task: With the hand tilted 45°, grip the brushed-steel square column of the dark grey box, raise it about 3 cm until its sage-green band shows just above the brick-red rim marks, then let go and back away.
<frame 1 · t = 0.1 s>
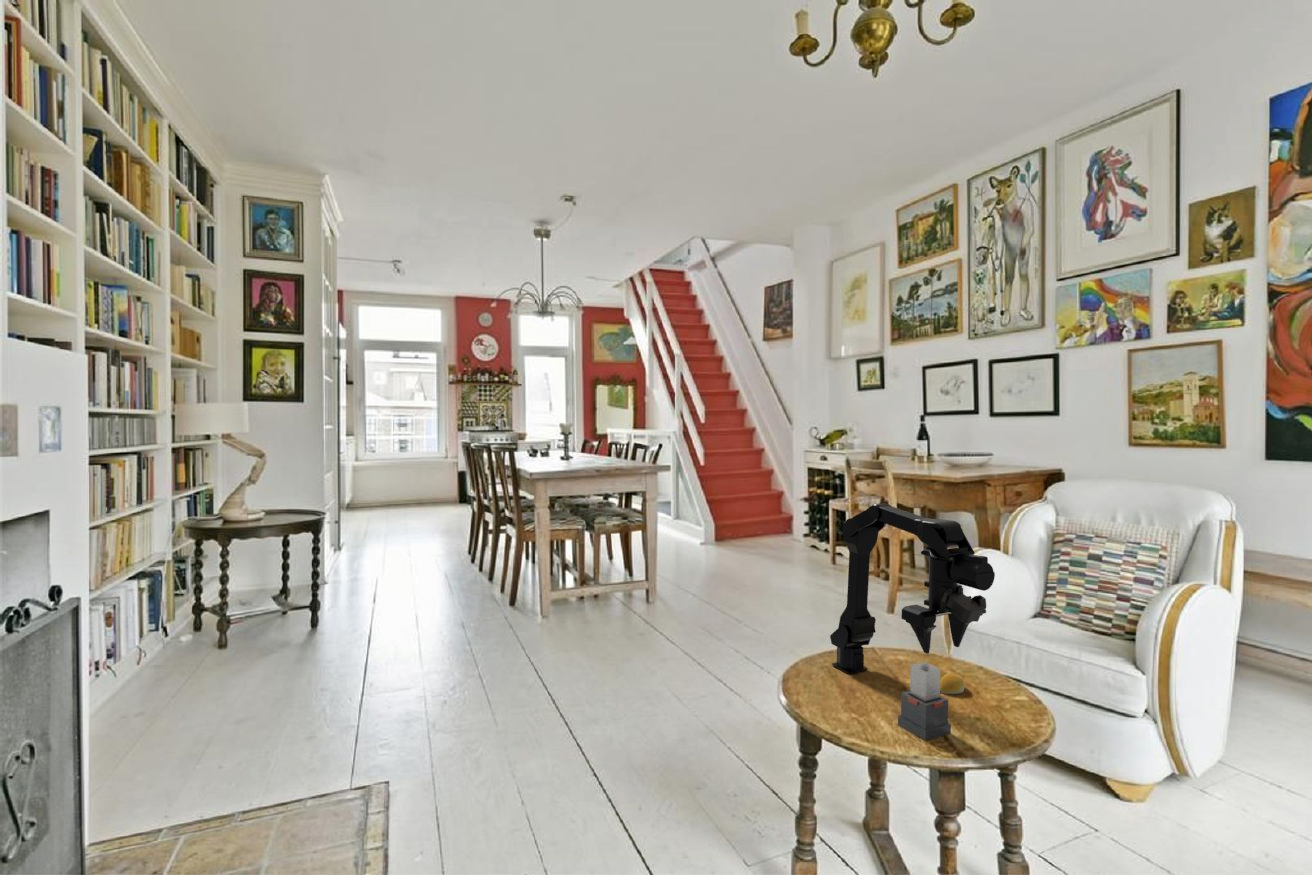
hand: (941, 649, 138), 15 cm above the table, tool pointing down, fingers open, 9 cm apart
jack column: (924, 692, 132), point 8 cm above the table, slide at 0.0 cm
dark grey box: (923, 729, 133), on the table
bread roll: (943, 688, 153), on the table
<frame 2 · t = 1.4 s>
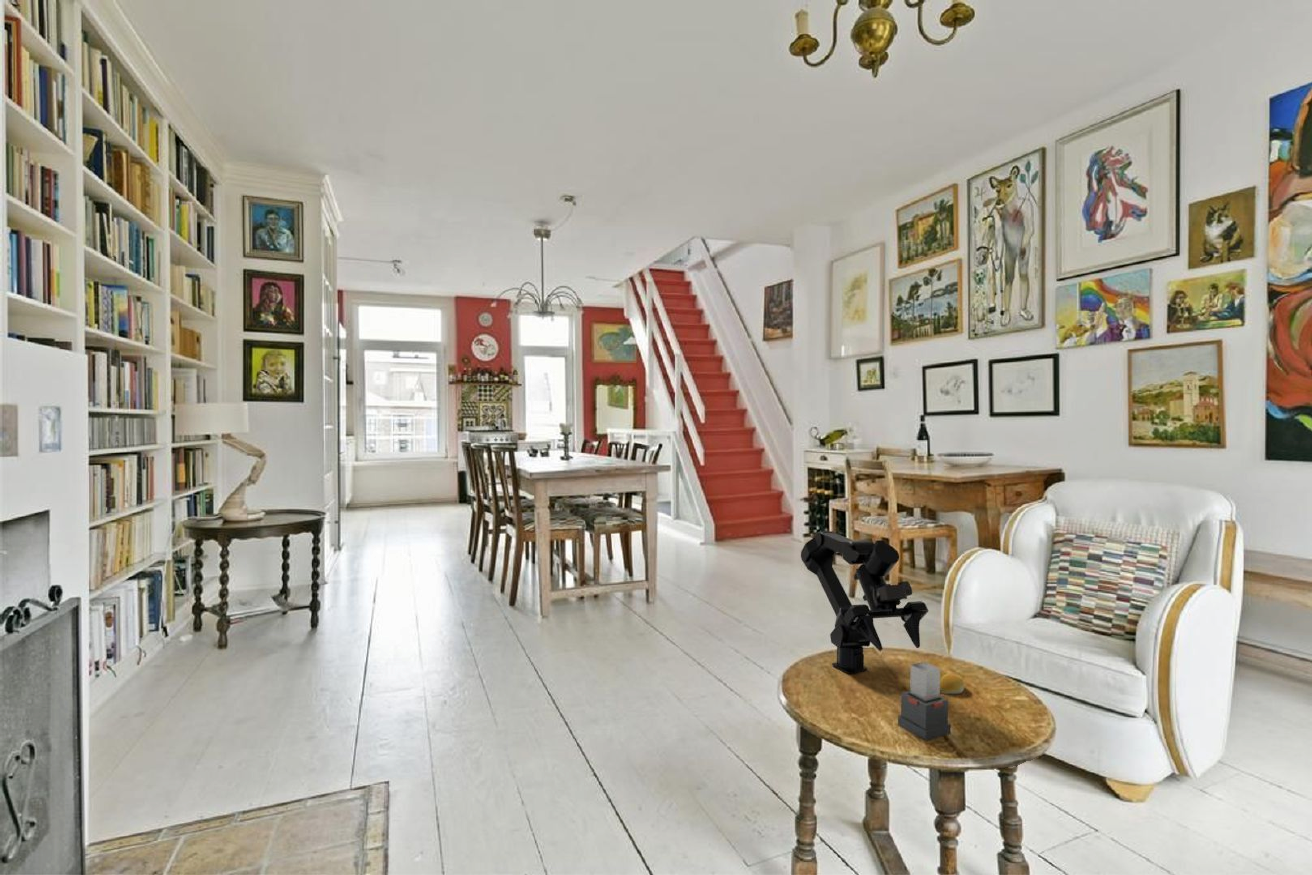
hand: (899, 648, 141), 14 cm above the table, tool tilted 45°, fingers open, 9 cm apart
nothing on the table moved.
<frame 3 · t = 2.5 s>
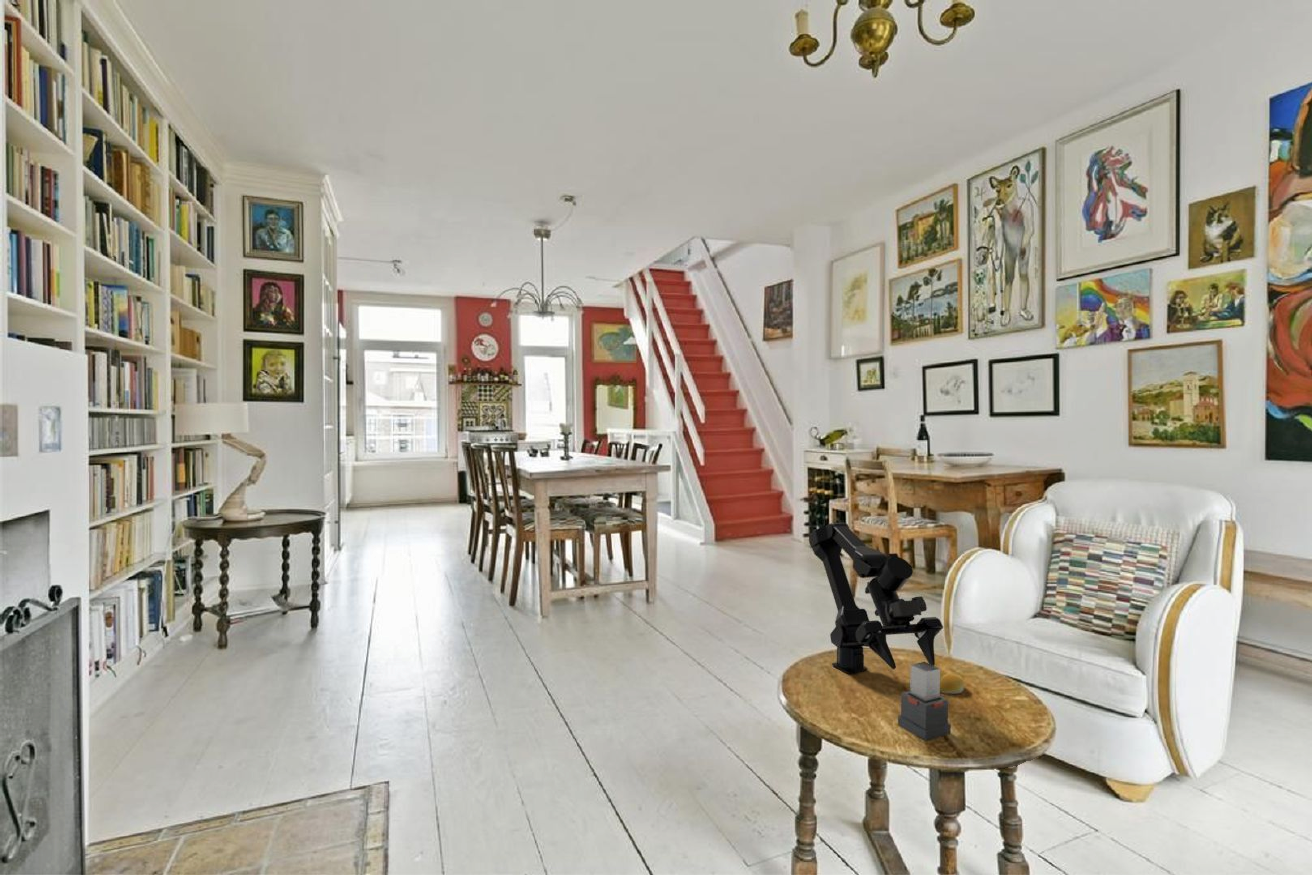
hand: (913, 667, 136), 12 cm above the table, tool tilted 45°, fingers open, 9 cm apart
nothing on the table moved.
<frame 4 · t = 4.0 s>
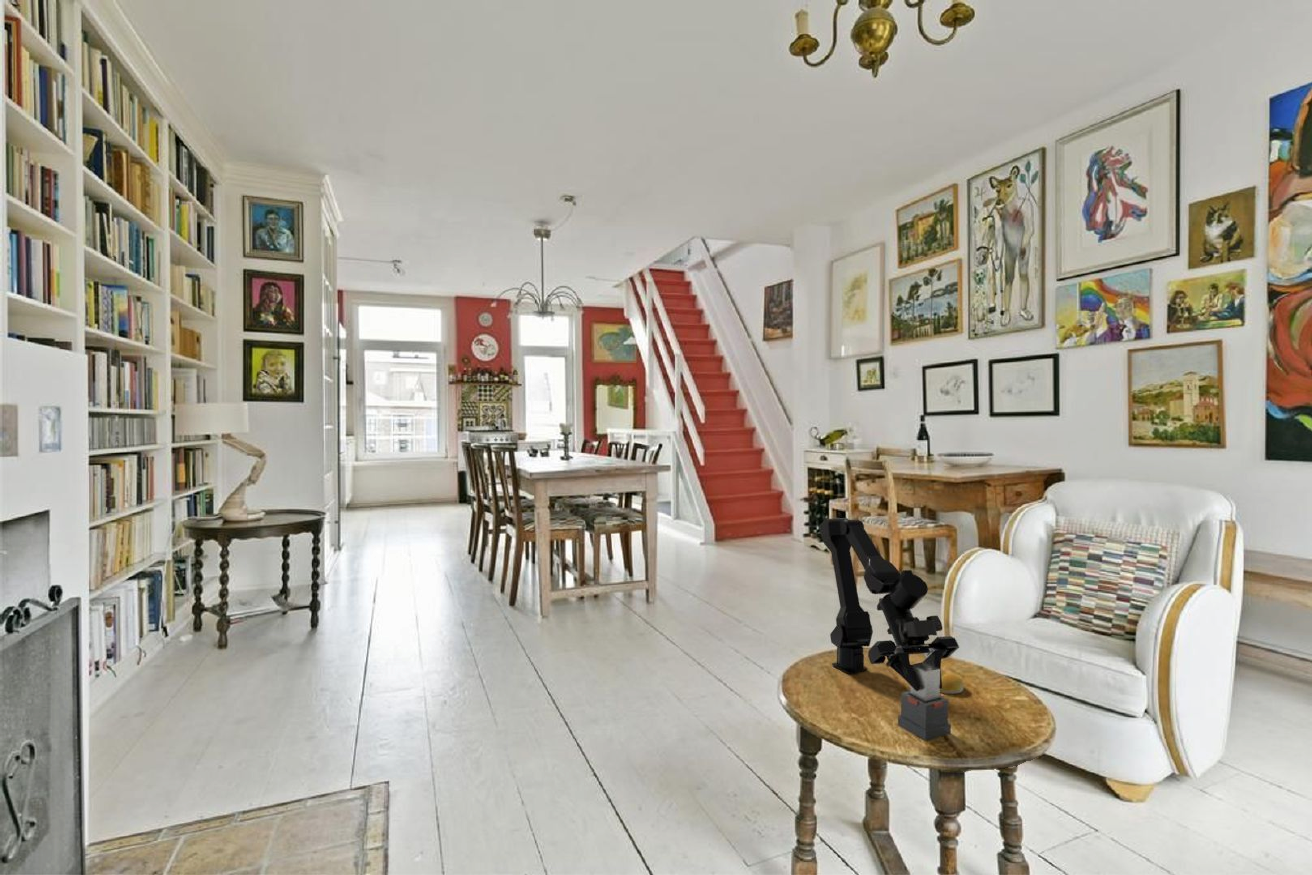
hand: (929, 689, 131), 9 cm above the table, tool tilted 45°, fingers closed on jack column, 5 cm apart
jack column: (924, 692, 132), point 8 cm above the table, slide at 0.0 cm, touching gripper
everything else where it was.
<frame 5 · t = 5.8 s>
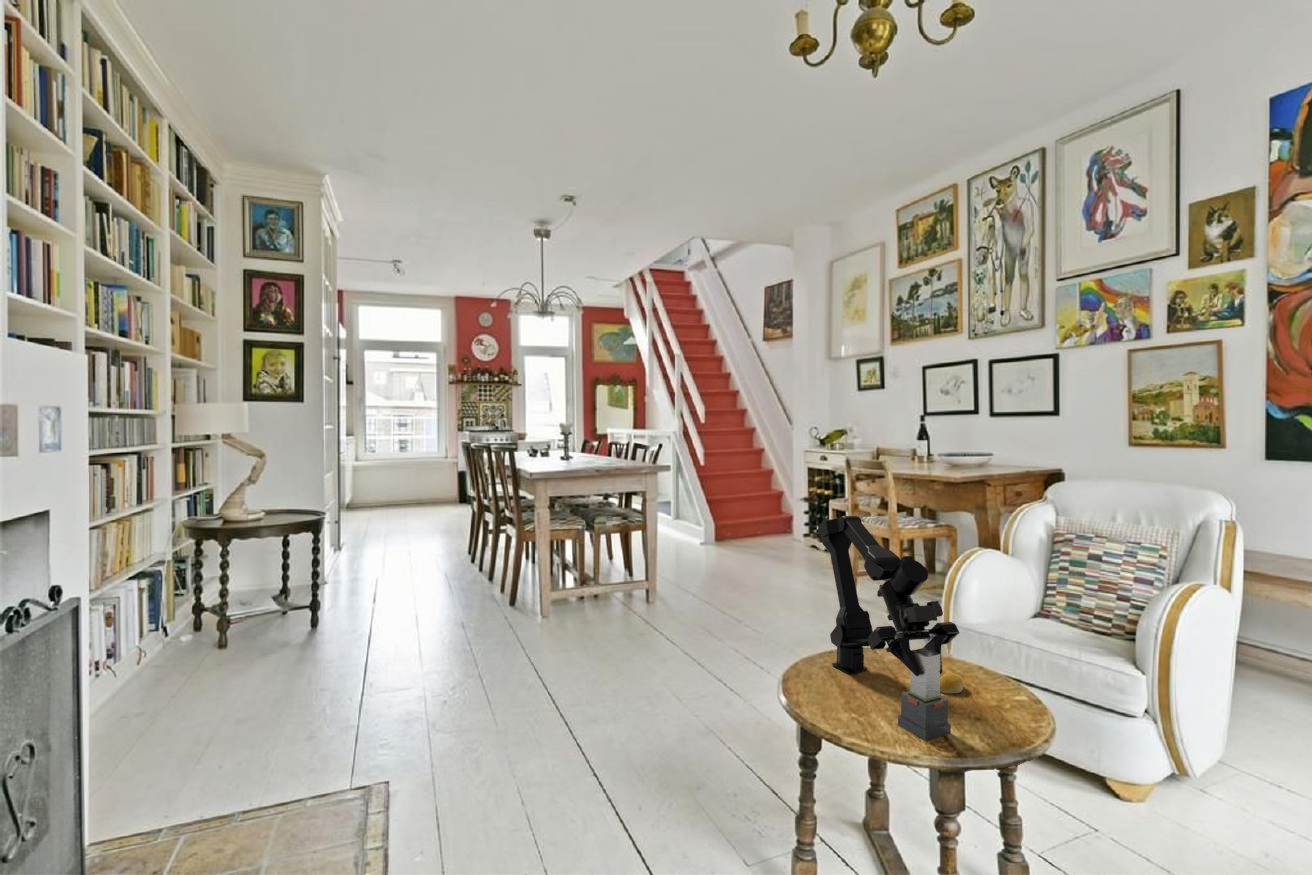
hand: (929, 674, 131), 12 cm above the table, tool tilted 45°, fingers closed on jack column, 5 cm apart
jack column: (925, 678, 132), point 11 cm above the table, slide at 3.0 cm, touching gripper
everything else where it was.
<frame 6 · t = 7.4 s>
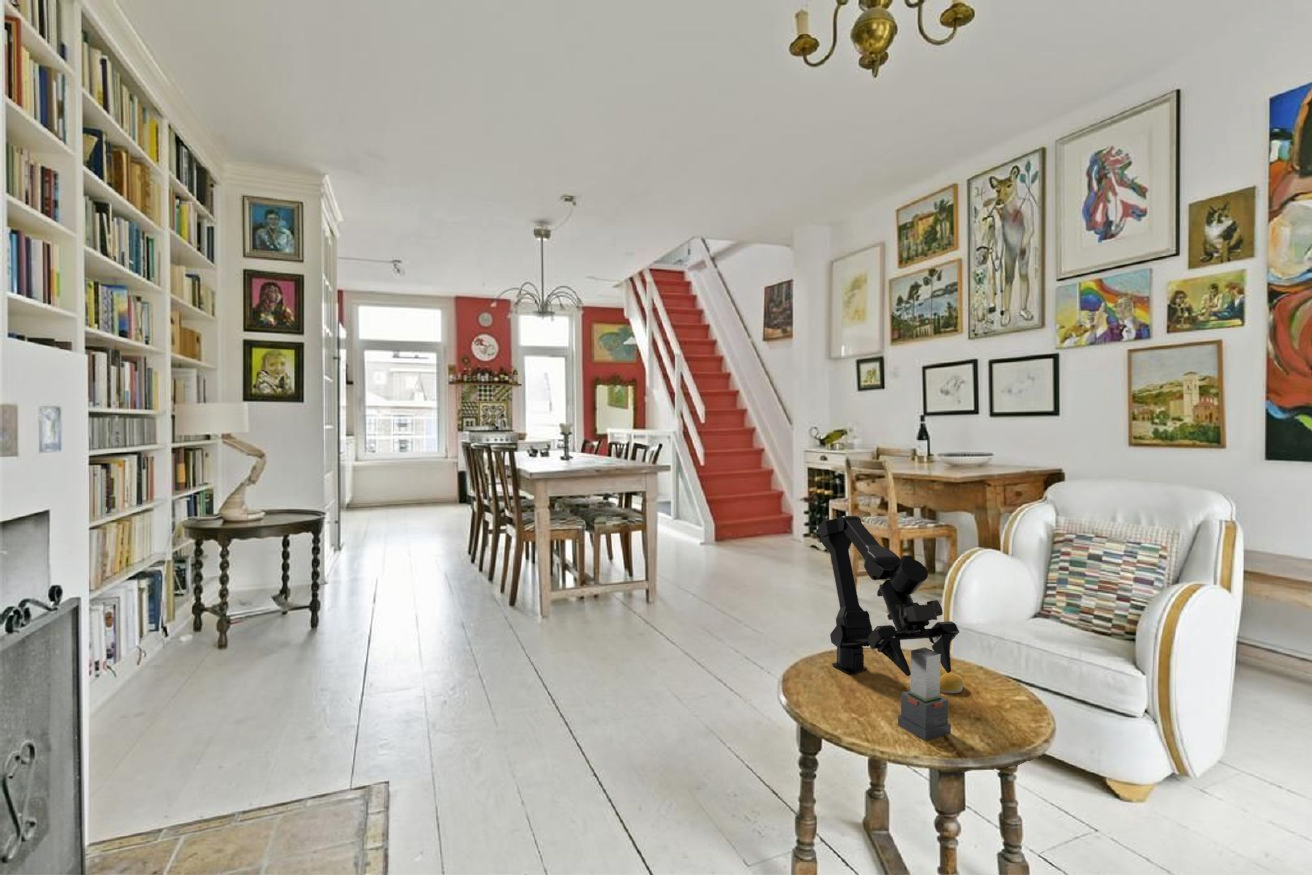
hand: (929, 673, 131), 12 cm above the table, tool tilted 45°, fingers open, 9 cm apart
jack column: (925, 677, 132), point 11 cm above the table, slide at 3.1 cm
everything else where it was.
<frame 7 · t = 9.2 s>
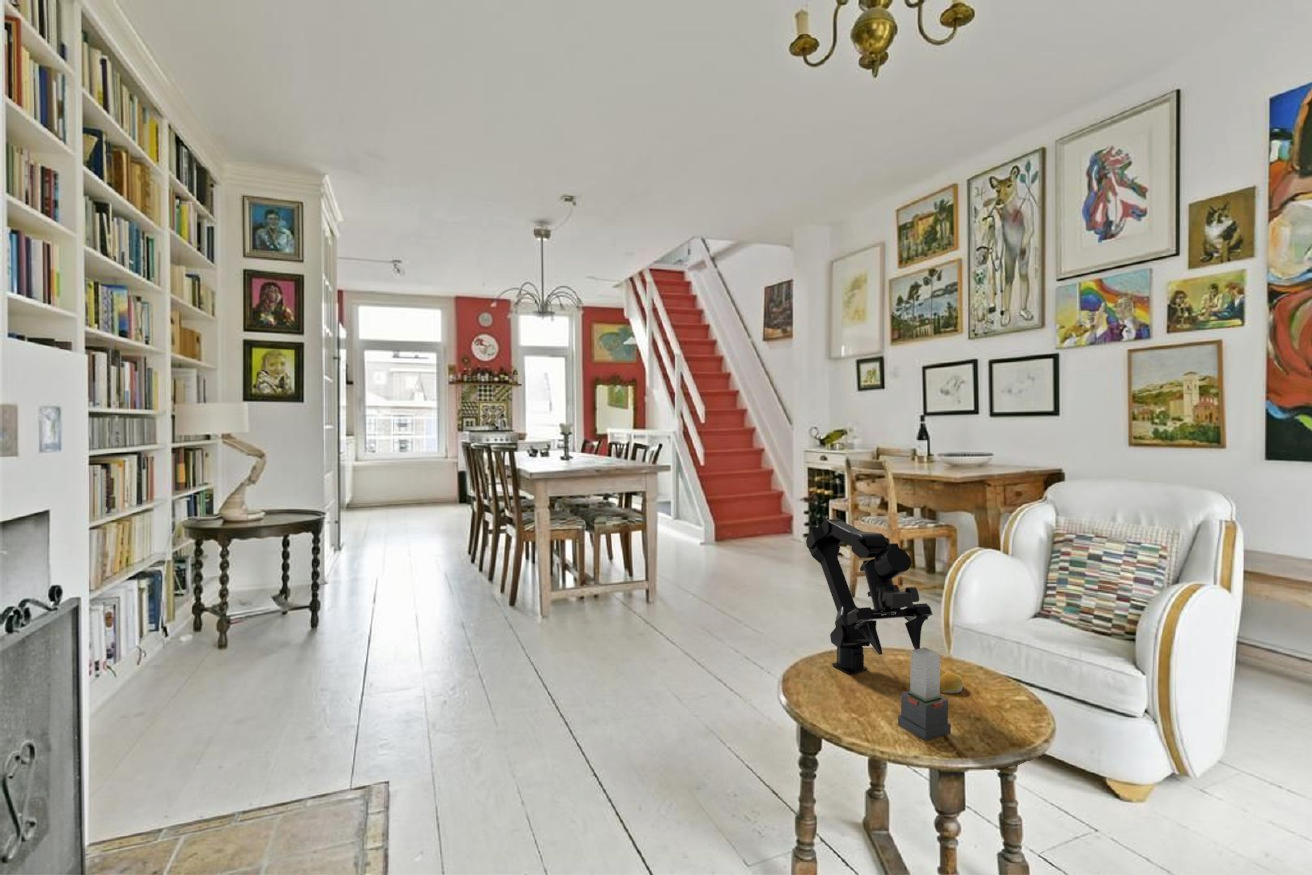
hand: (899, 652, 142), 12 cm above the table, tool tilted 30°, fingers open, 9 cm apart
nothing on the table moved.
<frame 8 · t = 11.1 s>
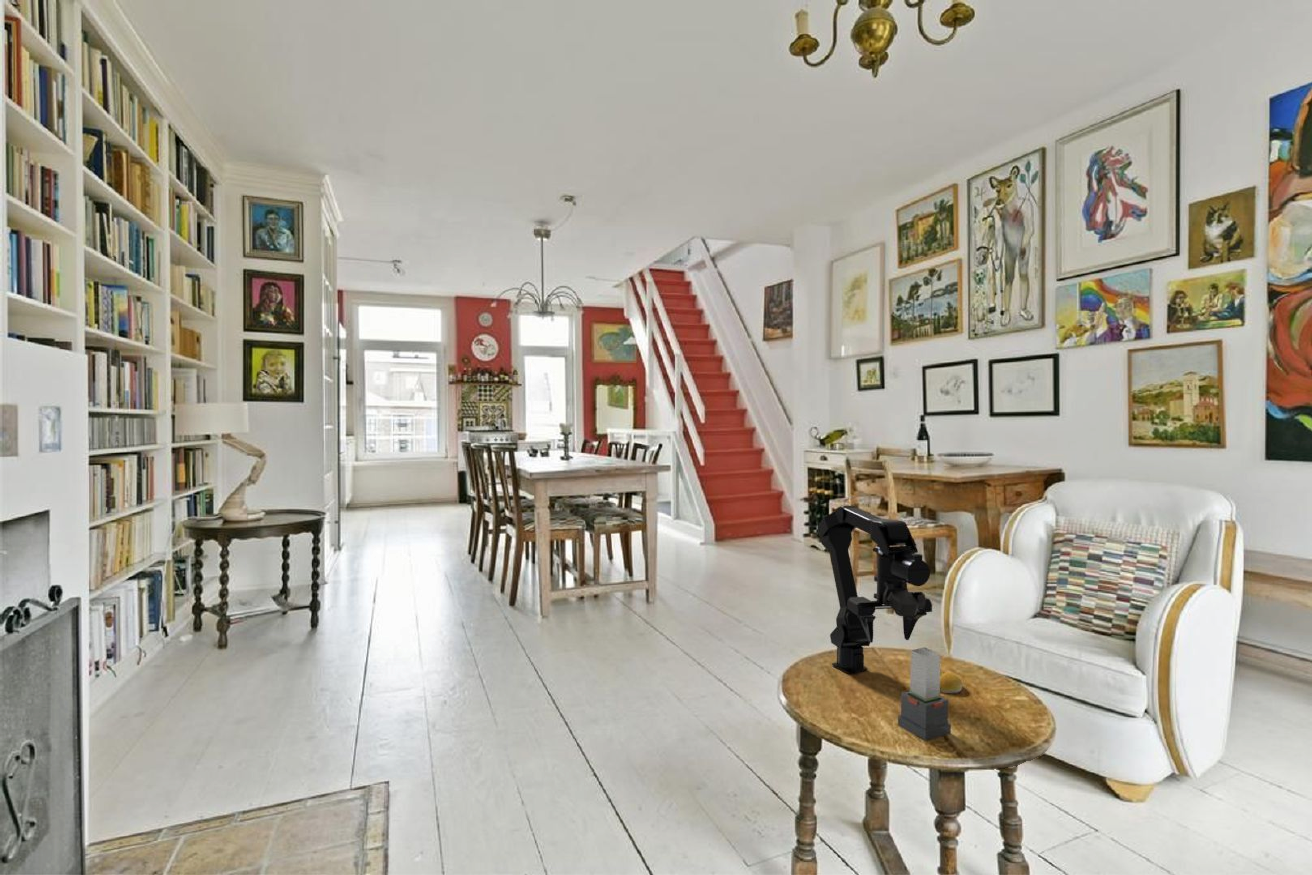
hand: (888, 640, 148), 13 cm above the table, tool pointing down, fingers open, 9 cm apart
nothing on the table moved.
at the end: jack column slide at 3.1 cm; the gripper is holding nothing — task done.
